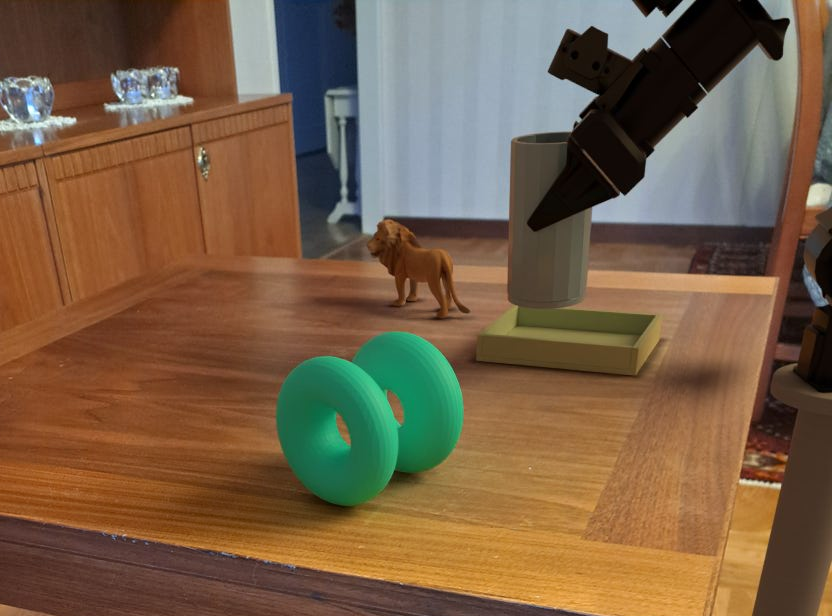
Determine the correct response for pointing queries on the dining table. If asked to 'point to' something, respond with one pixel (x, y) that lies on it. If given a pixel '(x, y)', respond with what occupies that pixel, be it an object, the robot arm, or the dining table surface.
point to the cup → (544, 229)
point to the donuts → (369, 417)
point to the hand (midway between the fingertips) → (533, 219)
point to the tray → (571, 339)
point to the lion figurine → (414, 265)
